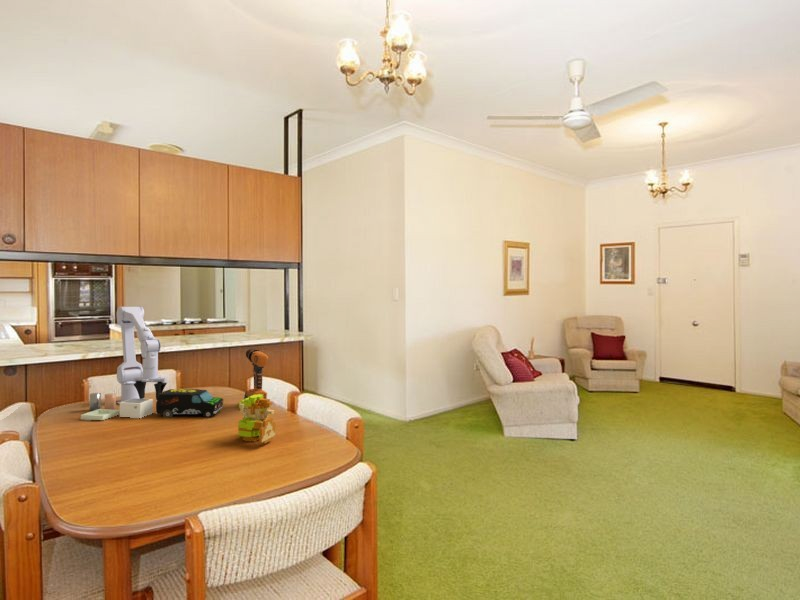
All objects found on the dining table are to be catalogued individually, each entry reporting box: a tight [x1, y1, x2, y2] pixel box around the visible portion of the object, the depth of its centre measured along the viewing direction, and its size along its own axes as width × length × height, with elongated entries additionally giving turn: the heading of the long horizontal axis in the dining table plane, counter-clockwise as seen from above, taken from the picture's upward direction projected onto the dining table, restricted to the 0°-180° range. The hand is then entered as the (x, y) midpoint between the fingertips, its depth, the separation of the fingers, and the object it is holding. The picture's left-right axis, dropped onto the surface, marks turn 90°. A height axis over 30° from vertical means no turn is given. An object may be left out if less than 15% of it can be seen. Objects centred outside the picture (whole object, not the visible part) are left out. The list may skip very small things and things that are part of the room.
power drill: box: [243, 348, 270, 400], centre depth 213 cm, size 22×7×25 cm, turn 35°
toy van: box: [154, 388, 224, 419], centre depth 195 cm, size 11×25×10 cm, turn 92°
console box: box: [119, 398, 154, 419], centre depth 192 cm, size 8×9×6 cm
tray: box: [80, 408, 120, 421], centre depth 189 cm, size 10×10×2 cm
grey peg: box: [89, 392, 102, 412], centre depth 200 cm, size 4×4×7 cm
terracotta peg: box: [104, 393, 117, 410], centre depth 199 cm, size 4×4×7 cm
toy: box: [237, 394, 276, 444], centre depth 164 cm, size 15×14×15 cm
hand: (150, 398), depth 200 cm, fingers open, 7 cm apart
